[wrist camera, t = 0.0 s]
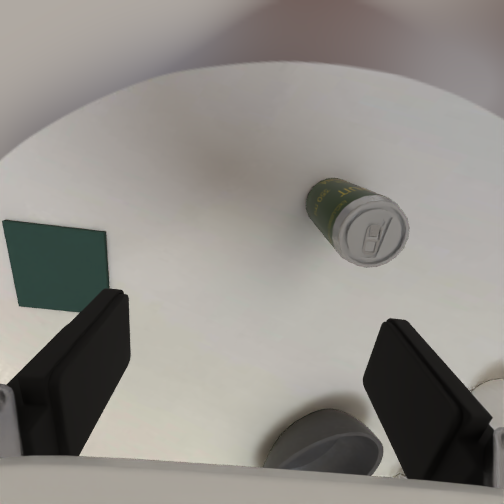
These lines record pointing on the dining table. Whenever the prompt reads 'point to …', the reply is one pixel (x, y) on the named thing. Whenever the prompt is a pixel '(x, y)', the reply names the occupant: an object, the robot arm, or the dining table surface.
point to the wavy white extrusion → (489, 402)
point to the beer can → (358, 222)
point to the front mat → (56, 265)
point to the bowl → (327, 445)
